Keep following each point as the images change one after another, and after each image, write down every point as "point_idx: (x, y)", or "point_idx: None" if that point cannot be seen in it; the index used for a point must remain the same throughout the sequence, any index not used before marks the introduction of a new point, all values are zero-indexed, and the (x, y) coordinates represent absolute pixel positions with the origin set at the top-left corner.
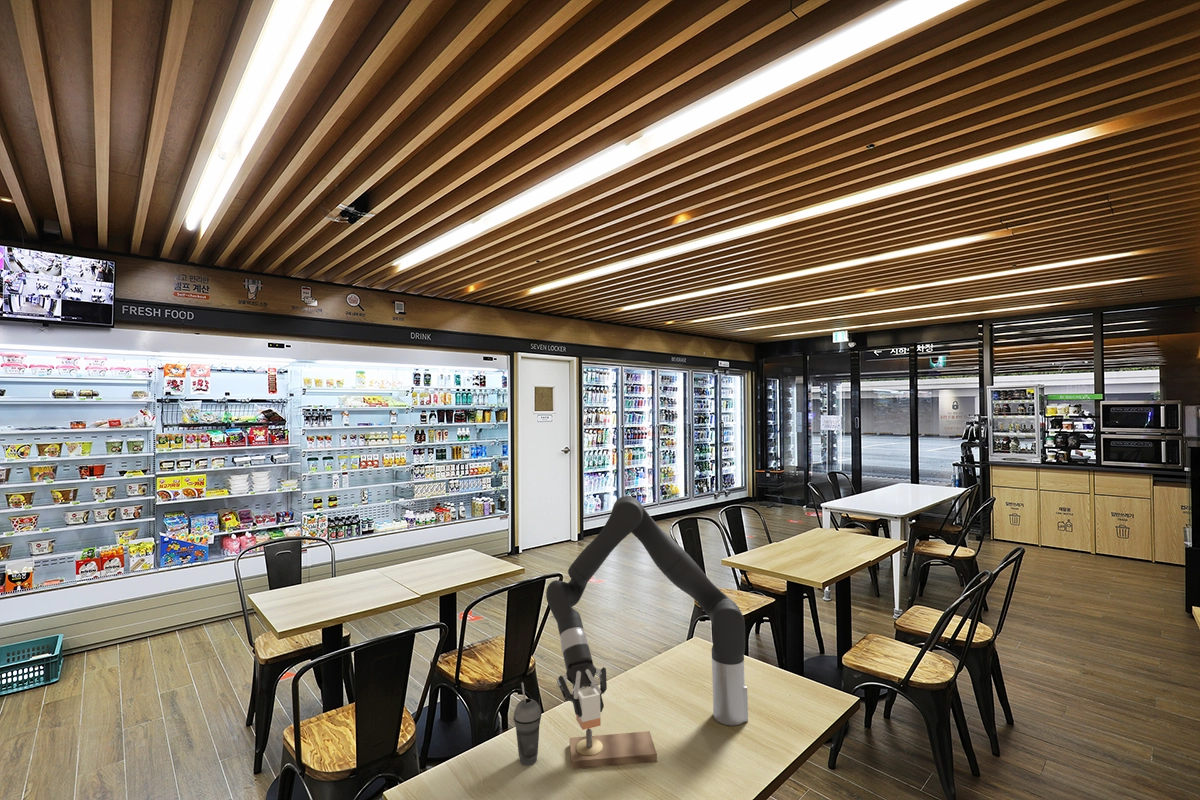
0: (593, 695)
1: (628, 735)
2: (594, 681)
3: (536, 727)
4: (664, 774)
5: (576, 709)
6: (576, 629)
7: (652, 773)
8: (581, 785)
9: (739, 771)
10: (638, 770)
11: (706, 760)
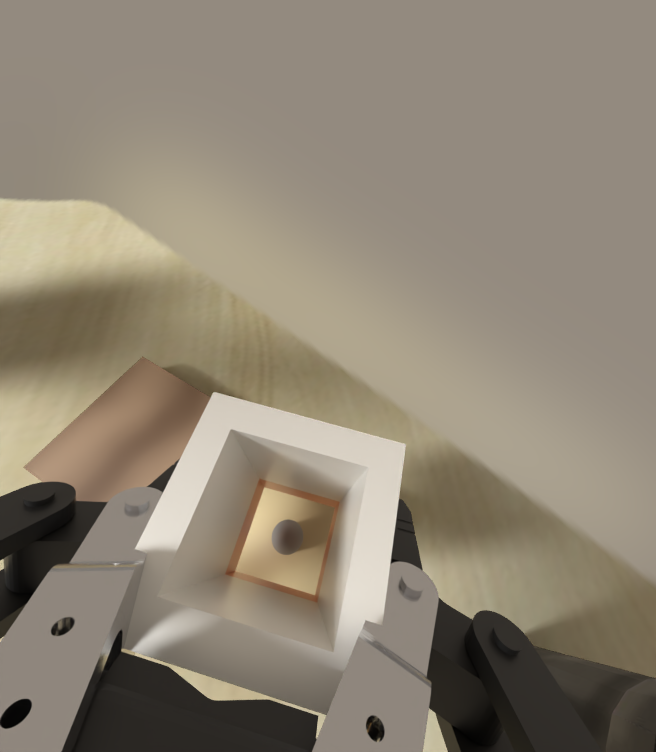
0: (273, 421)
1: (107, 501)
2: (56, 604)
3: (637, 685)
4: (186, 326)
5: (406, 520)
6: None
7: (206, 345)
8: (393, 425)
9: (57, 239)
10: (223, 375)
11: (59, 298)
